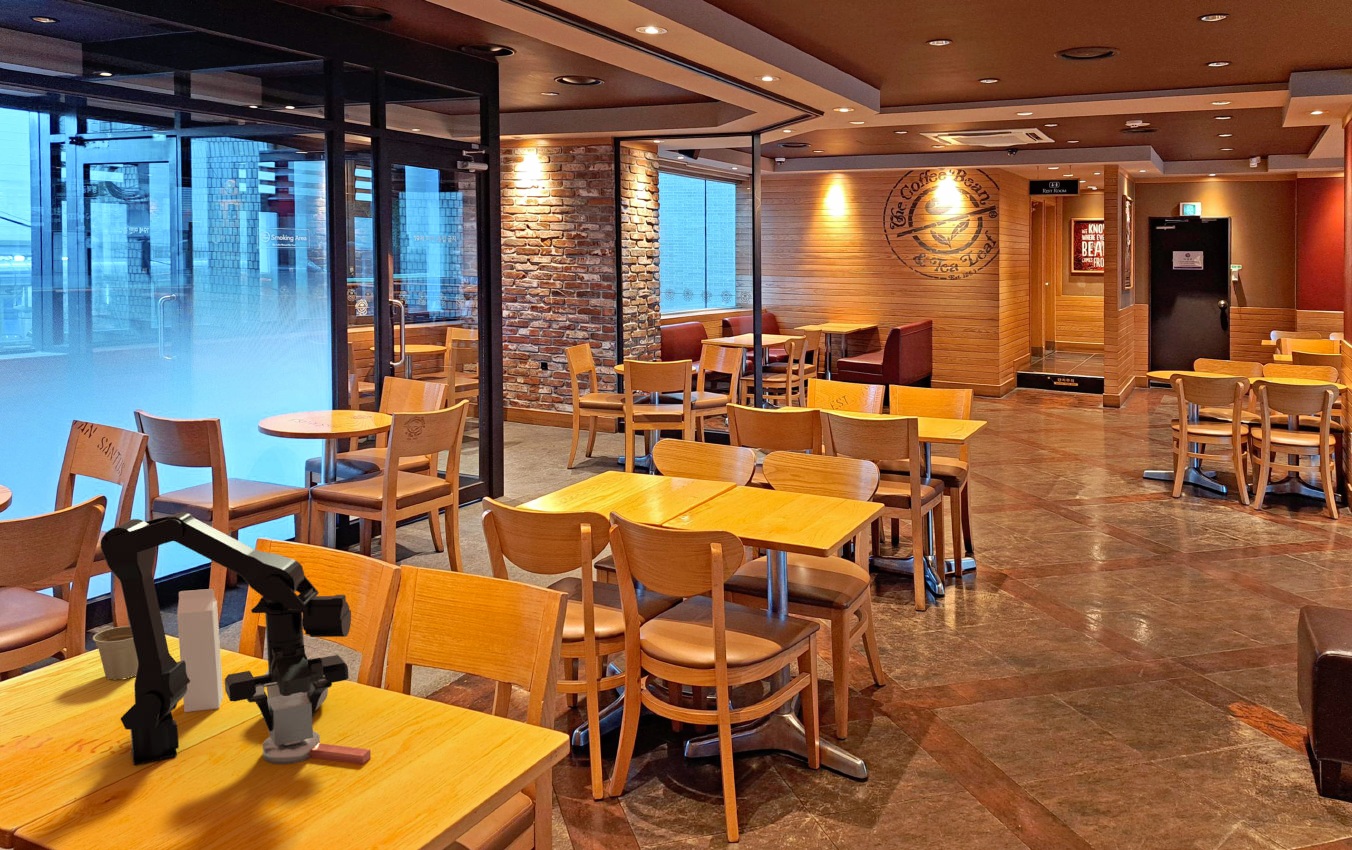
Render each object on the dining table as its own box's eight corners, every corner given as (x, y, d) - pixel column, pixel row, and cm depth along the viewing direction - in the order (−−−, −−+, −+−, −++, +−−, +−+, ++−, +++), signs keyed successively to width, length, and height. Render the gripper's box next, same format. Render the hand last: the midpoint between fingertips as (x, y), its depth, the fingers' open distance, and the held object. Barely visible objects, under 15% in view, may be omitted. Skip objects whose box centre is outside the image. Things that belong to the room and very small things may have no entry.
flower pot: (85, 682, 210) (81, 640, 209) (117, 665, 219) (114, 624, 218) (128, 685, 208) (125, 642, 207) (159, 667, 218) (156, 626, 216)
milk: (219, 709, 197) (211, 593, 194) (183, 712, 196) (175, 596, 192) (223, 696, 203) (216, 583, 200) (188, 699, 202) (181, 586, 198)
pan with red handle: (251, 760, 177) (250, 732, 176) (284, 737, 185) (282, 710, 184) (352, 773, 172) (350, 744, 171) (380, 749, 181) (379, 721, 180)
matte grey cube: (275, 745, 175) (273, 710, 174) (268, 732, 180) (266, 698, 179) (313, 737, 178) (311, 703, 177) (305, 724, 183) (303, 691, 182)
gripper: (232, 662, 165) (238, 757, 168) (354, 641, 175) (358, 731, 177) (221, 640, 175) (227, 731, 177) (338, 621, 184) (342, 707, 186)
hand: (290, 726), depth 179 cm, fingers closed on matte grey cube, 6 cm apart
